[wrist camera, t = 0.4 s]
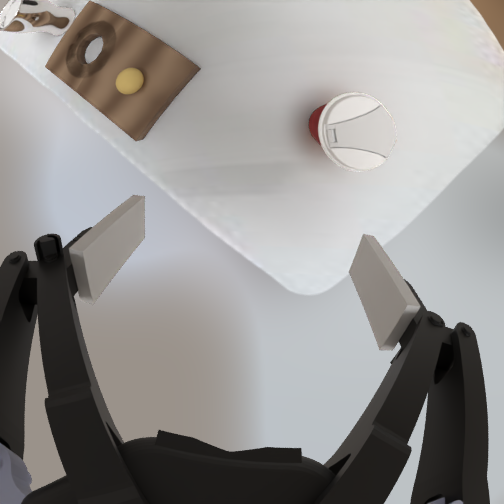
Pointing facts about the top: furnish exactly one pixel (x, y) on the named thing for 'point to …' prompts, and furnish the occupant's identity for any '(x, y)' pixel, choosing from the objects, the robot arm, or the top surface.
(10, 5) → the beer glass
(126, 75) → the ball
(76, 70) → the board
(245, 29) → the top surface
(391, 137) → the coffee cup
